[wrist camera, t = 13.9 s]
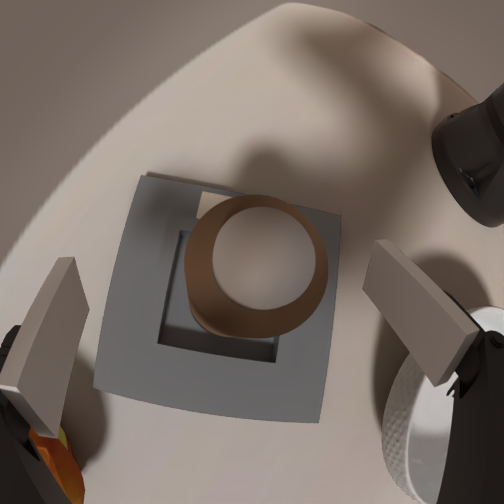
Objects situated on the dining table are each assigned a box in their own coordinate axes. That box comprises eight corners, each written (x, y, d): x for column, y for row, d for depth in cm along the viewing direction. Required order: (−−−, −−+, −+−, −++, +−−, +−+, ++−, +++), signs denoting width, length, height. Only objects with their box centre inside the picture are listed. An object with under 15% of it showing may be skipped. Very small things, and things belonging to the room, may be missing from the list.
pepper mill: (266, 270, 22) (342, 199, 11) (257, 341, 21) (334, 346, 9) (195, 257, 21) (200, 168, 10) (183, 330, 20) (169, 324, 8)
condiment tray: (336, 220, 25) (349, 208, 23) (313, 420, 20) (326, 427, 18) (142, 181, 23) (138, 165, 21) (96, 386, 19) (85, 390, 16)
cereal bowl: (342, 501, 19) (383, 538, 12) (360, 314, 23) (415, 302, 17) (473, 459, 21) (518, 470, 14) (486, 315, 26) (536, 304, 19)
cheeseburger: (-19, 366, 17) (-80, 379, 8) (92, 400, 20) (78, 441, 11) (-15, 467, 13) (-56, 513, 5) (91, 500, 17) (89, 567, 8)
